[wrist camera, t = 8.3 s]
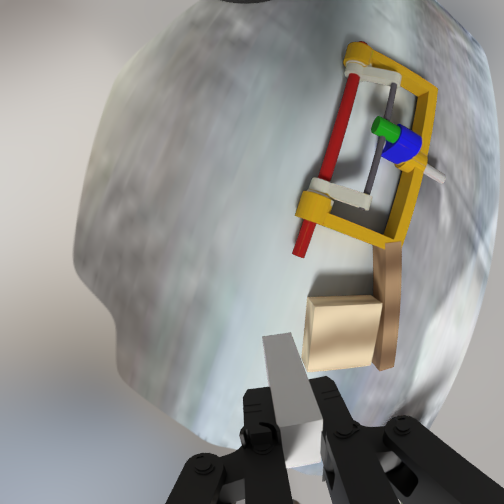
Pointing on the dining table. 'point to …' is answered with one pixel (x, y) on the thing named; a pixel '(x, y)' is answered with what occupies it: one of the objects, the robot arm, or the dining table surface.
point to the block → (340, 332)
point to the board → (387, 301)
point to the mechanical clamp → (389, 147)
